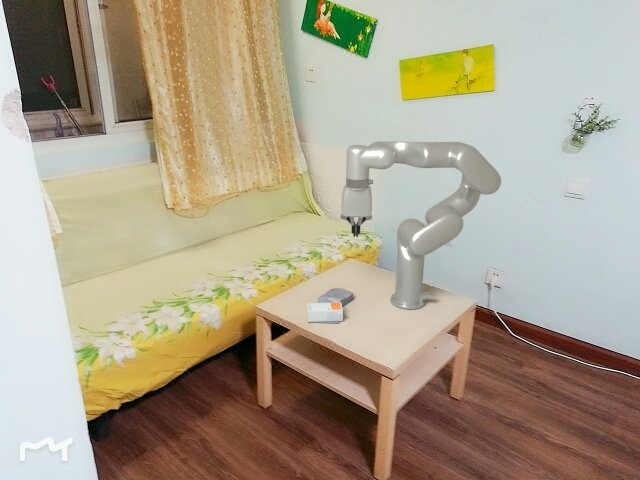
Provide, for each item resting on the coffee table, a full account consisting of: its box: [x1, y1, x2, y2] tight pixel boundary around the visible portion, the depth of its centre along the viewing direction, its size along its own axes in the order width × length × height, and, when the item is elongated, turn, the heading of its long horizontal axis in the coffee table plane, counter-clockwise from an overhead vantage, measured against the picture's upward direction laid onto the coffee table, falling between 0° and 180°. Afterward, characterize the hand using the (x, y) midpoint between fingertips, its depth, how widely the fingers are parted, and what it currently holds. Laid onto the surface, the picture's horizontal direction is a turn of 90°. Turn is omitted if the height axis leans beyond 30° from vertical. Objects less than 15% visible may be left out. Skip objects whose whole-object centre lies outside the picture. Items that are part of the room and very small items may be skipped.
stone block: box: [317, 287, 354, 308], centre depth 171 cm, size 12×5×10 cm
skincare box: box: [306, 302, 344, 323], centre depth 160 cm, size 6×4×12 cm
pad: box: [315, 321, 340, 325], centre depth 161 cm, size 8×9×1 cm
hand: (355, 235), depth 160 cm, fingers closed
